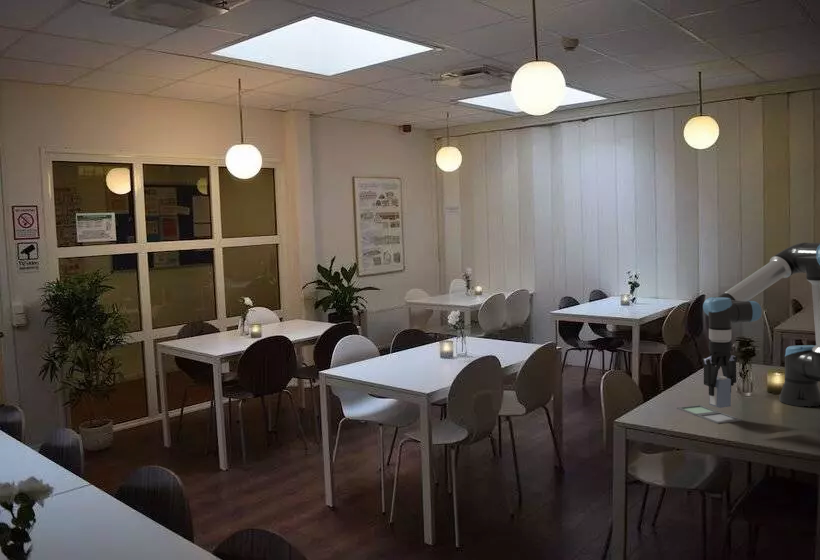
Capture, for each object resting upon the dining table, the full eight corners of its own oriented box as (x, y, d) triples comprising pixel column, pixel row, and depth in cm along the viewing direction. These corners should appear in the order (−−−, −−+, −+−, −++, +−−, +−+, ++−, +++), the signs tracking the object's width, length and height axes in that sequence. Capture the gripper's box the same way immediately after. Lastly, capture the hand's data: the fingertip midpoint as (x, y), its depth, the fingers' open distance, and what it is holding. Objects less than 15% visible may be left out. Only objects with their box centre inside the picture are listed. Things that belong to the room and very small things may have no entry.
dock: (704, 408, 269) (704, 403, 269) (748, 423, 247) (748, 418, 247) (670, 412, 264) (670, 407, 264) (711, 428, 243) (711, 423, 243)
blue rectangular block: (720, 403, 253) (720, 374, 252) (730, 406, 249) (730, 377, 248) (709, 404, 252) (709, 375, 251) (719, 407, 247) (719, 378, 246)
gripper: (732, 336, 254) (732, 398, 256) (692, 340, 249) (692, 403, 251) (748, 339, 247) (748, 403, 249) (706, 344, 242) (706, 408, 244)
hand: (720, 403), depth 250 cm, fingers closed on blue rectangular block, 5 cm apart
